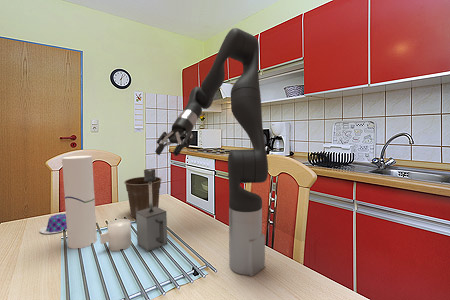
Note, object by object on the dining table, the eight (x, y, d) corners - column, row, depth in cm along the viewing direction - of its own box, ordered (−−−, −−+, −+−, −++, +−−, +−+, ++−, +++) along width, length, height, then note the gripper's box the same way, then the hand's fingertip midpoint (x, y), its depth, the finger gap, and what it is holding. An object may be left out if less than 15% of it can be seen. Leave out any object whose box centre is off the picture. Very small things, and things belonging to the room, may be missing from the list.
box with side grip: (172, 246, 77) (171, 213, 76) (152, 255, 71) (151, 219, 70) (156, 237, 84) (155, 206, 83) (137, 244, 78) (136, 211, 77)
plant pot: (156, 220, 99) (155, 183, 98) (119, 221, 99) (117, 184, 98) (166, 208, 115) (165, 176, 114) (134, 208, 115) (133, 176, 114)
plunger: (162, 216, 78) (160, 169, 76) (148, 220, 74) (146, 171, 73) (154, 212, 81) (152, 167, 80) (140, 216, 78) (138, 169, 76)
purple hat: (55, 237, 85) (54, 223, 85) (32, 233, 88) (31, 220, 88) (83, 224, 96) (82, 212, 96) (62, 221, 100) (61, 209, 99)
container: (83, 249, 75) (77, 158, 72) (61, 247, 77) (55, 158, 74) (102, 237, 83) (97, 155, 81) (82, 235, 85) (77, 155, 83)
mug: (135, 245, 78) (134, 222, 77) (105, 256, 71) (104, 231, 70) (126, 239, 82) (125, 217, 82) (98, 248, 76) (96, 225, 75)
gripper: (203, 130, 92) (185, 161, 83) (176, 130, 99) (156, 159, 90) (195, 115, 87) (175, 148, 78) (167, 117, 94) (145, 146, 85)
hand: (165, 154), depth 84 cm, fingers open, 8 cm apart
